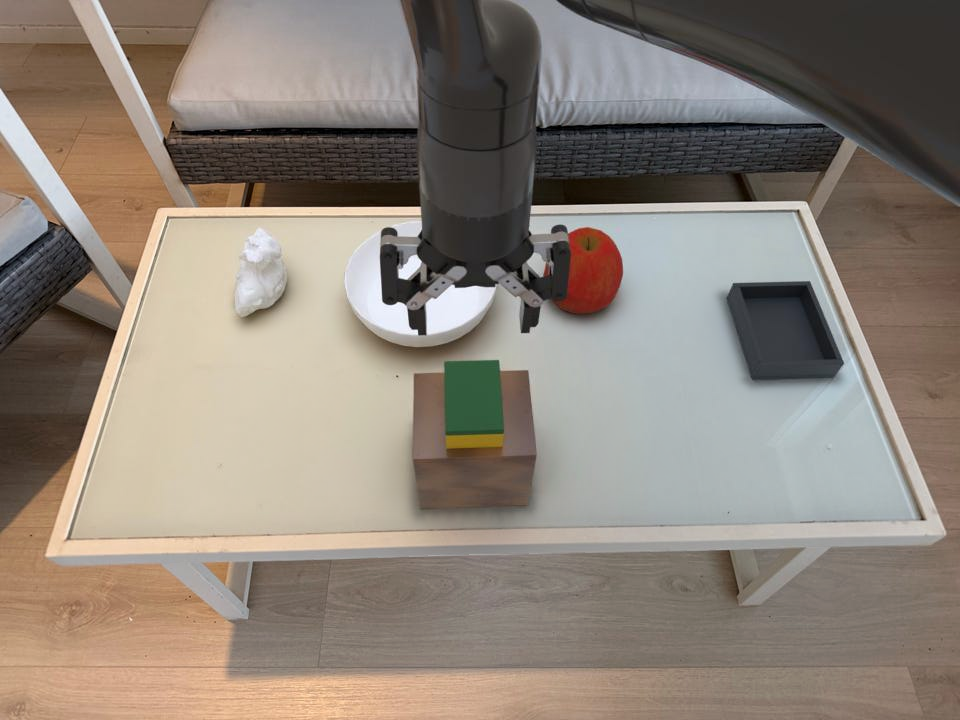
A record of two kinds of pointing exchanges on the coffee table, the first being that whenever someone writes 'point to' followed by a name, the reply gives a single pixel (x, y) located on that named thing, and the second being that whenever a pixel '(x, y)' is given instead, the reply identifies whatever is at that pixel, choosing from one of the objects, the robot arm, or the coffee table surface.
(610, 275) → the apple
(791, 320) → the tray
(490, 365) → the sponge
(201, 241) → the coffee table surface
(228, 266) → the coffee table surface
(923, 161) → the robot arm
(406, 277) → the bowl
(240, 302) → the bust
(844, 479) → the coffee table surface
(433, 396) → the wooden block
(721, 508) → the coffee table surface
